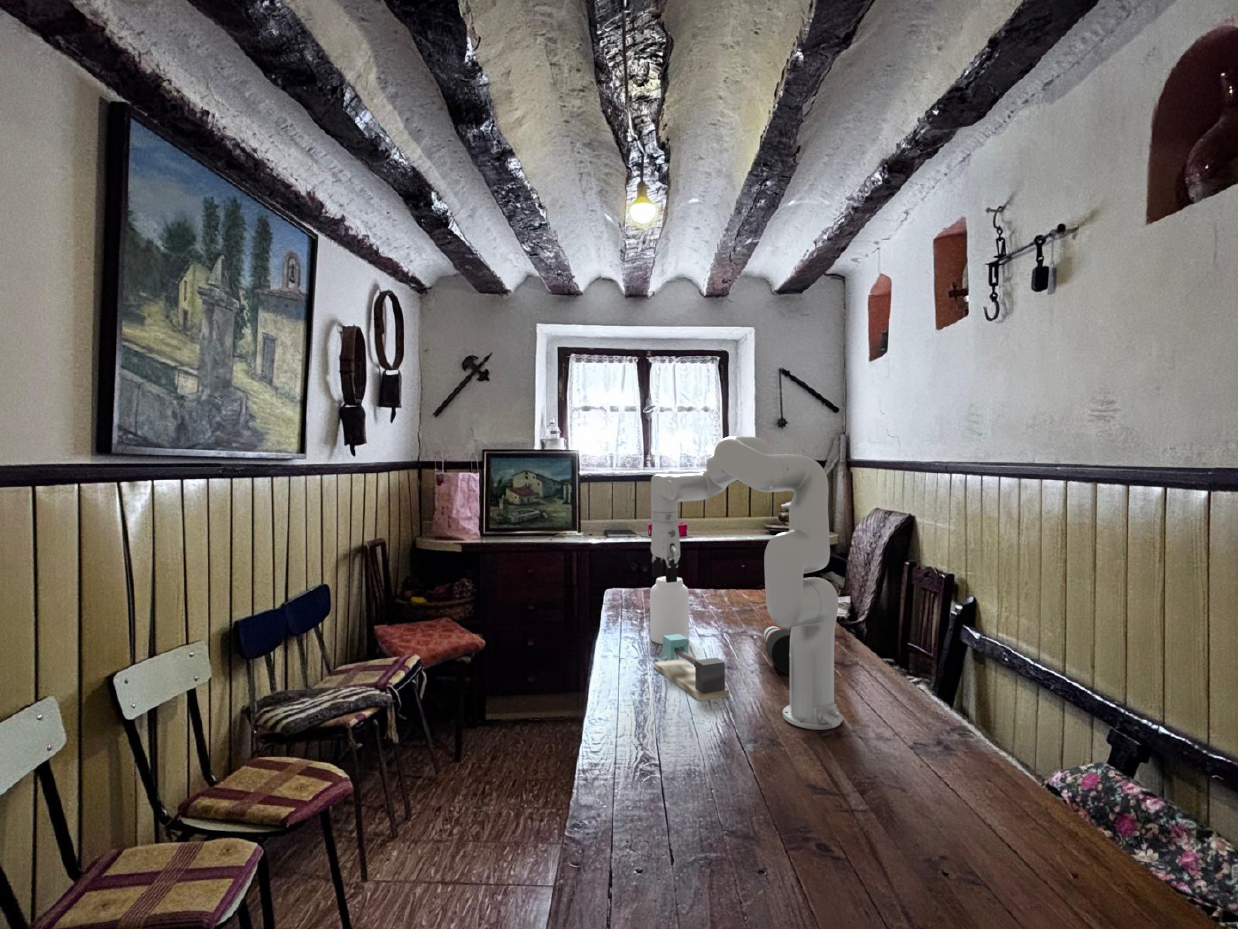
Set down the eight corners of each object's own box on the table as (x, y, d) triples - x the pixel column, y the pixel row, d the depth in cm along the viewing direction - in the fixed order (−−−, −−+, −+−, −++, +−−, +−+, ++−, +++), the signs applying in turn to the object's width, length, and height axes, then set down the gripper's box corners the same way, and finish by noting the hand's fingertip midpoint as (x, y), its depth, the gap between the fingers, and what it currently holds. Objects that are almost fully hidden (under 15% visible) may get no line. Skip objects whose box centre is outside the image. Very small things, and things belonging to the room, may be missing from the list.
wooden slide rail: (728, 696, 159) (728, 661, 159) (699, 700, 156) (699, 665, 156) (680, 664, 183) (679, 634, 183) (654, 668, 180) (654, 637, 180)
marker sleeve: (687, 658, 176) (687, 638, 176) (671, 660, 174) (671, 640, 174) (679, 652, 180) (679, 633, 180) (663, 655, 179) (663, 635, 178)
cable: (778, 655, 206) (792, 626, 206) (799, 681, 172) (816, 646, 173) (749, 640, 207) (763, 611, 208) (764, 662, 173) (781, 628, 174)
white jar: (646, 644, 203) (646, 580, 203) (654, 633, 215) (653, 573, 215) (686, 647, 200) (686, 582, 200) (691, 635, 212) (691, 575, 212)
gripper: (690, 520, 176) (690, 584, 177) (663, 514, 193) (663, 573, 193) (665, 521, 174) (665, 586, 174) (640, 515, 190) (640, 574, 190)
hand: (664, 579), depth 183 cm, fingers open, 8 cm apart
